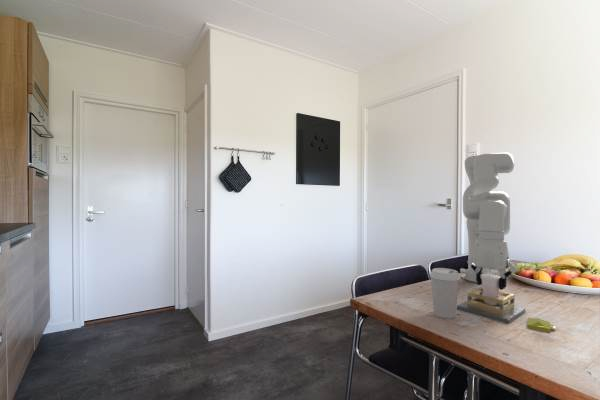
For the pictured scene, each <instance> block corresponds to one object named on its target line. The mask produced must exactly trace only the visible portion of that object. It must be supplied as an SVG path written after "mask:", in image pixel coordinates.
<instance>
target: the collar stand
mask: <svg viewBox="0 0 600 400" xmlns="http://www.w3.org/2000/svg"><path fill="white" fill-rule="evenodd" d="M498 296H502V298H498V299H497V298H492V297H488V296H484V294H483V287H482V286H480V287H477V288H475V289H473V290H470V291H468V292H467V298H466V299H467V300H466V301H464V302H462V303H459V304H456V310H459V311H463V312H467V313H470V314H474V315H477V316H481V317H485V318H488V319H491V320H495V321H499V322H502V323H506V324H510V323H511V322H513V321H514V320H515V319H517V318H519V317H520V316H522V315H523V314H525V313H526V308H524V307H522V306H517V305H515V303H516V302H515V299H516V298H515V297H516V295H515V294H514V293H510V292H505V291H502V290H501V291H500V290H499V293H498ZM484 300H486V301H490V302H495V303H497V305H489V304H486V303H485V302H484Z"/></svg>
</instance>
